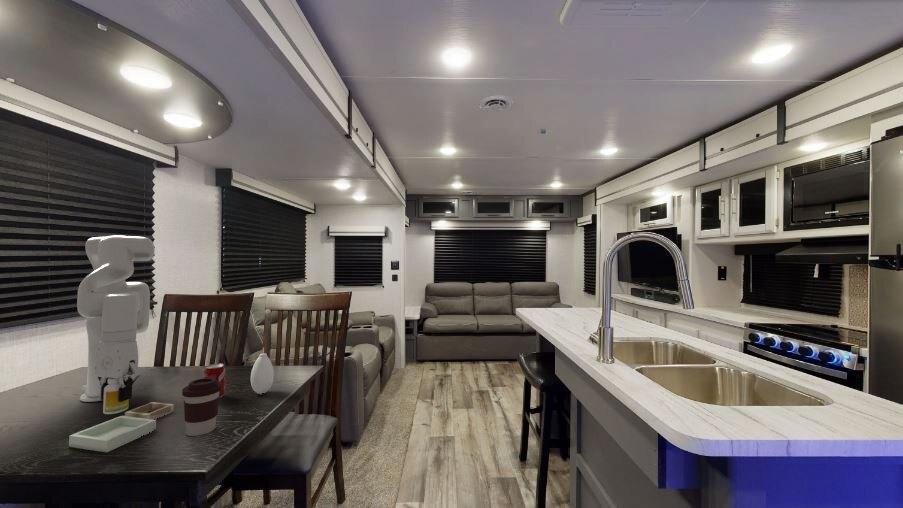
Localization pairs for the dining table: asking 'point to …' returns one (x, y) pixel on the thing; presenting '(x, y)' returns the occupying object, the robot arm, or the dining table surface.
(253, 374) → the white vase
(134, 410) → the socket collar
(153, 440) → the dining table surface
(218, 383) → the coffee cup
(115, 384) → the supplement bottle
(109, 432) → the tray
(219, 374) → the soda can
